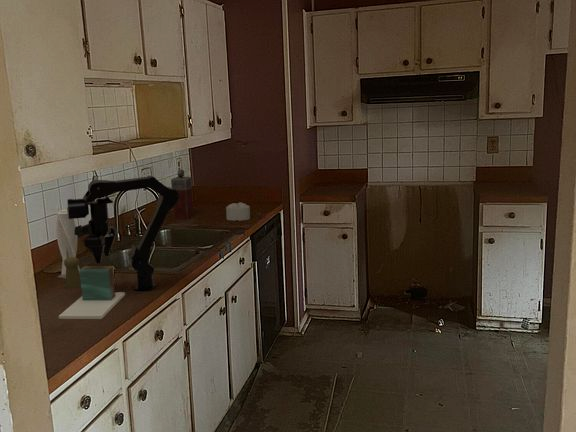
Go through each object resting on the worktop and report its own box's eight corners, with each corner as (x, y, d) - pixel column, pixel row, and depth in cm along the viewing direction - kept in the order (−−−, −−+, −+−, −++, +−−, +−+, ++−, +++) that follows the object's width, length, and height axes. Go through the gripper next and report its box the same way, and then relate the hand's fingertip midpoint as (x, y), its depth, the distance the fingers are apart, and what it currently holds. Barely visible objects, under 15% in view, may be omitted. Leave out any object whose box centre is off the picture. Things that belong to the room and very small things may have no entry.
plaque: (87, 296, 200) (84, 266, 198) (115, 296, 199) (112, 266, 197) (82, 300, 196) (79, 269, 194) (111, 300, 195) (108, 269, 193)
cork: (84, 283, 217) (81, 255, 215) (79, 288, 212) (76, 259, 209) (68, 283, 217) (65, 255, 215) (63, 288, 211) (59, 260, 209)
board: (86, 295, 204) (86, 292, 204) (124, 295, 203) (124, 292, 203) (58, 318, 183) (58, 315, 182) (101, 318, 182) (101, 316, 182)
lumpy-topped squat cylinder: (231, 216, 332) (231, 201, 330) (252, 217, 328) (252, 202, 326) (224, 220, 322) (224, 205, 320) (246, 221, 318) (245, 205, 316)
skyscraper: (55, 276, 226) (47, 207, 220) (71, 271, 233) (64, 203, 227) (70, 279, 222) (62, 209, 216) (86, 273, 229) (79, 205, 223)
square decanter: (176, 215, 336) (173, 168, 330) (193, 216, 334) (191, 168, 328) (169, 218, 328) (166, 170, 322) (187, 219, 325) (184, 170, 319)
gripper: (86, 211, 208) (89, 252, 211) (66, 222, 190) (70, 267, 193) (116, 211, 208) (119, 252, 211) (99, 222, 190) (102, 267, 193)
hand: (102, 259), depth 202 cm, fingers open, 9 cm apart
